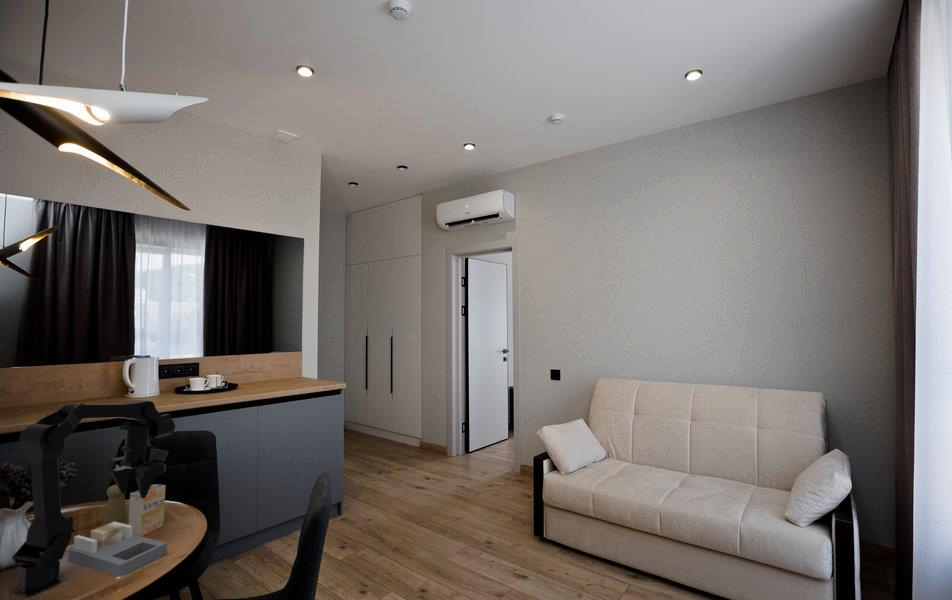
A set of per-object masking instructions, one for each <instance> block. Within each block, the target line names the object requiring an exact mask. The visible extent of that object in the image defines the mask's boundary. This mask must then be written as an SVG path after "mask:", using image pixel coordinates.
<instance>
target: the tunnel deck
mask: <svg viewBox="0 0 952 600" xmlns="http://www.w3.org/2000/svg"><path fill="white" fill-rule="evenodd" d="M112 523H113V524H117V525H120V526H122V540H121V541H119V542H116V543H114V544H112V545H109V546H107V547H105V548H102V549H101V548H98V547H97V540H94V539H91V537H86V536H84V535H79V534H78V535H75V536H74V537H73V547H72V548H70V549H69V551H68V553H69V554H68V562H71V563H75V564H77V565H80V566H83V567H87V568H90V569H94V570H96V571H99V572H102V573H106V574H109V575H112V576H115V577H118V578H121V577H123V576H125V575H127V574H129V573H131V572H133V571H135V570H138V569H139V568H141V567H143V566H145V565H147V564H149V563H151V562H153V561H156V560H157V559H159V558H161V557H164V556H165V555H167V551H168V550H167V549H168V543H167V542H164V541H161V540H155V539H152V538H149V537H145V536H143V537H141V536H137V535H134V534H132V531H133V526H130V525H129V524H127V523H122V522H120V521H119V522H112Z"/></svg>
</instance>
